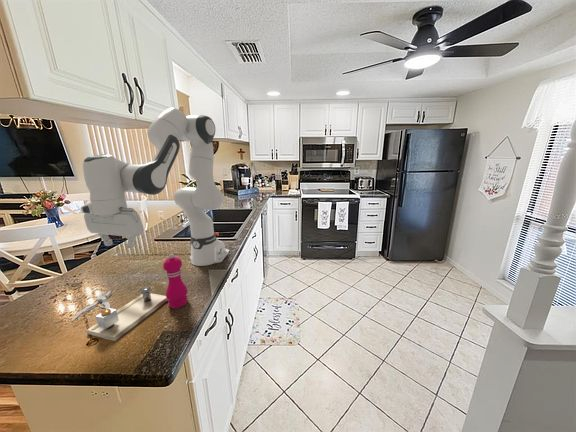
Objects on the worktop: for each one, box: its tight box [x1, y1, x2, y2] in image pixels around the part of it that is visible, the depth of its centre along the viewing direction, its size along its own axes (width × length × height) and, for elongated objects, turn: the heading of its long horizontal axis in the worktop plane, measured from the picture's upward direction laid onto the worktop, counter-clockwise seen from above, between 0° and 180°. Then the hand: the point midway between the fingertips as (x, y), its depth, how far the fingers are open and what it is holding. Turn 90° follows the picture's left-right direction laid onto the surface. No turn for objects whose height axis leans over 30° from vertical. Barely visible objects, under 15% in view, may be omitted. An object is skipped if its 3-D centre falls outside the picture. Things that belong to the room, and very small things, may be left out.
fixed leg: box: [140, 286, 152, 301], centre depth 83 cm, size 3×3×5 cm
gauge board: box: [86, 292, 169, 342], centre depth 78 cm, size 21×11×2 cm, turn 164°
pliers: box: [71, 290, 112, 322], centre depth 84 cm, size 10×2×15 cm
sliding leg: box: [95, 307, 119, 329], centre depth 70 cm, size 4×3×5 cm
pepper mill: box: [163, 253, 189, 309], centre depth 82 cm, size 7×7×20 cm
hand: (119, 246), depth 76 cm, fingers open, 8 cm apart
